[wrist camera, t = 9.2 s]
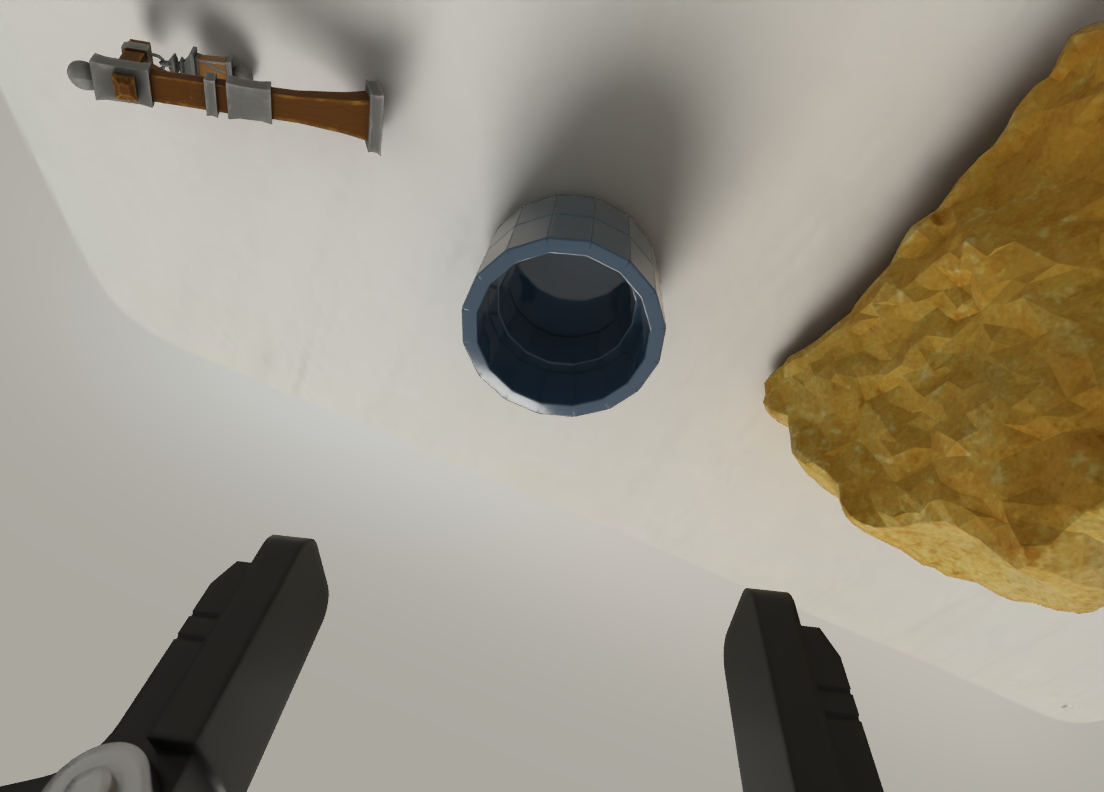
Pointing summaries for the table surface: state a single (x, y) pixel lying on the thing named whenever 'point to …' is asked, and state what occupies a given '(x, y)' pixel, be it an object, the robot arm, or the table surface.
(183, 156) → the table surface
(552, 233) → the blue-grey hollow cylinder
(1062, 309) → the decorative stone
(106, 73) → the hanging lantern post
